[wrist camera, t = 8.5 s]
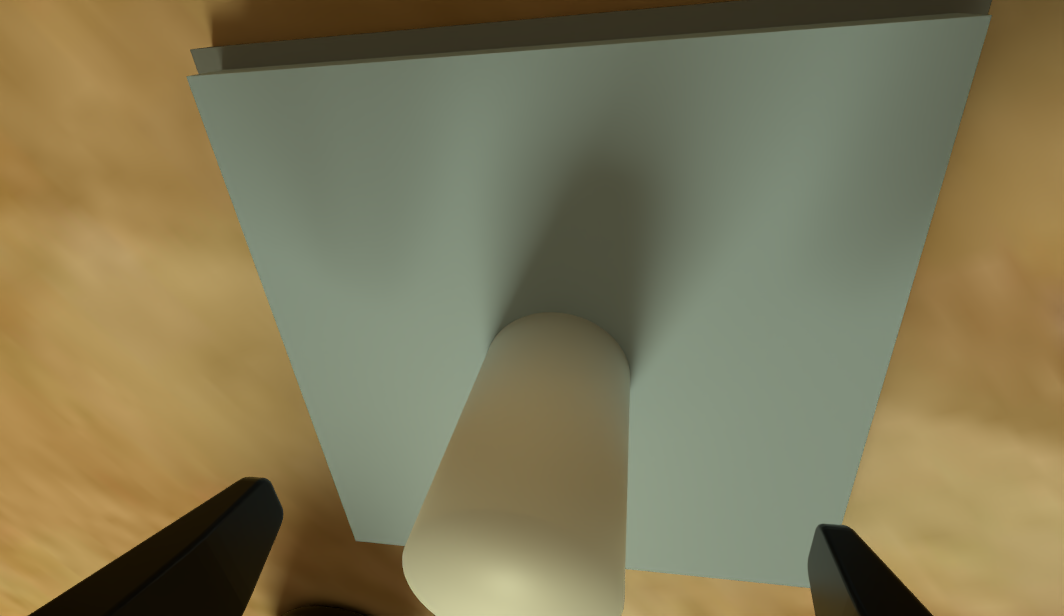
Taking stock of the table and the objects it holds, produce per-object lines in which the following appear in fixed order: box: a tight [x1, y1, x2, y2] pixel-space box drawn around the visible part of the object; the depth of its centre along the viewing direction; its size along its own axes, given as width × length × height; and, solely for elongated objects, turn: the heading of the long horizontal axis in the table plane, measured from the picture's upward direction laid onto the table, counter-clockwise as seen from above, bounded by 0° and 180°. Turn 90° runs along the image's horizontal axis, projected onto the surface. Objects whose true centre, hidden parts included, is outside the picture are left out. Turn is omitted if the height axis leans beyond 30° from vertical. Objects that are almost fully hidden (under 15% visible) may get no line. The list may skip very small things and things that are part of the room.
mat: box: [190, 0, 992, 74], centre depth 13 cm, size 14×14×1 cm
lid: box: [187, 13, 992, 616], centre depth 10 cm, size 13×13×6 cm
